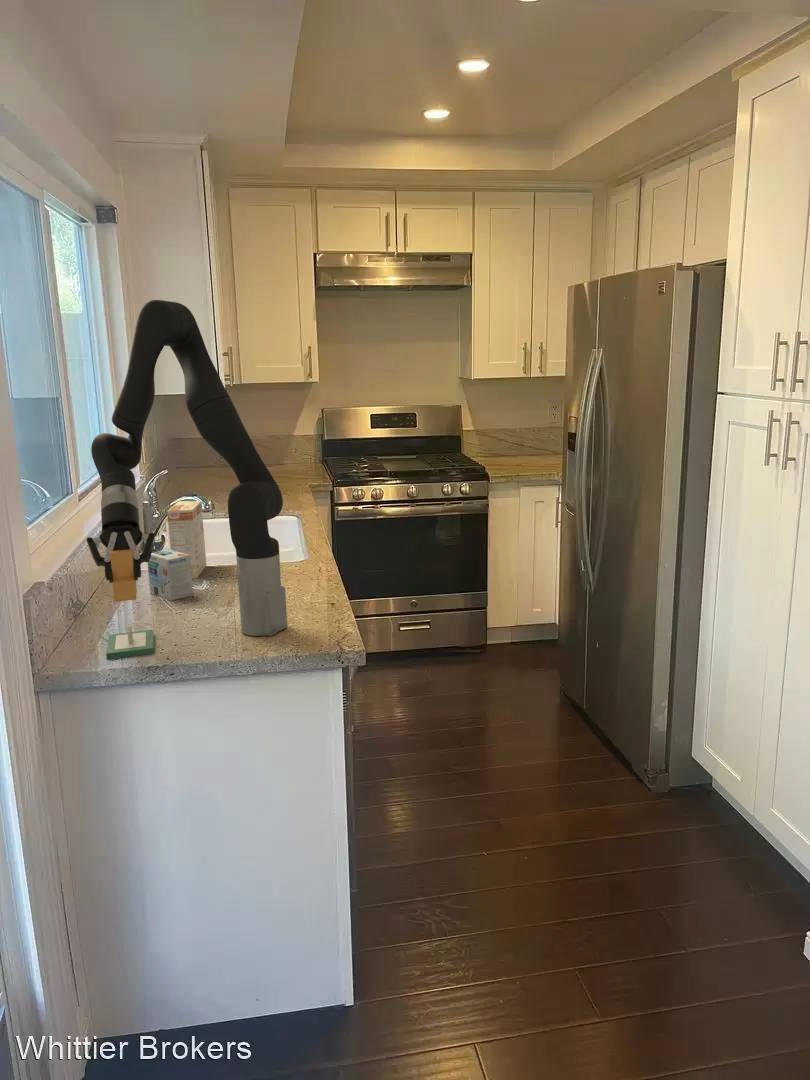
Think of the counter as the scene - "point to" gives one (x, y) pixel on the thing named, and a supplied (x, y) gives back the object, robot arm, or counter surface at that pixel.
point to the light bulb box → (170, 574)
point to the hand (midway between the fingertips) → (123, 579)
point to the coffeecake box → (188, 533)
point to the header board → (130, 644)
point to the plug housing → (123, 575)
